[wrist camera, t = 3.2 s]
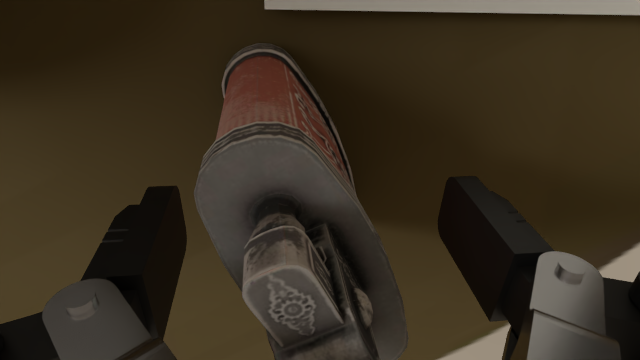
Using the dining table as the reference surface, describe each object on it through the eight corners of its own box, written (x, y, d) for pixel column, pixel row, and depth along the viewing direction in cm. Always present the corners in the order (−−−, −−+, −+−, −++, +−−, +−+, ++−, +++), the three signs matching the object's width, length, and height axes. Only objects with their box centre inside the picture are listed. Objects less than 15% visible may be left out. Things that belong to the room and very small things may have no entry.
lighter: (200, 68, 14) (105, 283, 5) (290, 25, 13) (343, 180, 5) (299, 231, 18) (335, 496, 9) (369, 201, 18) (471, 449, 9)
